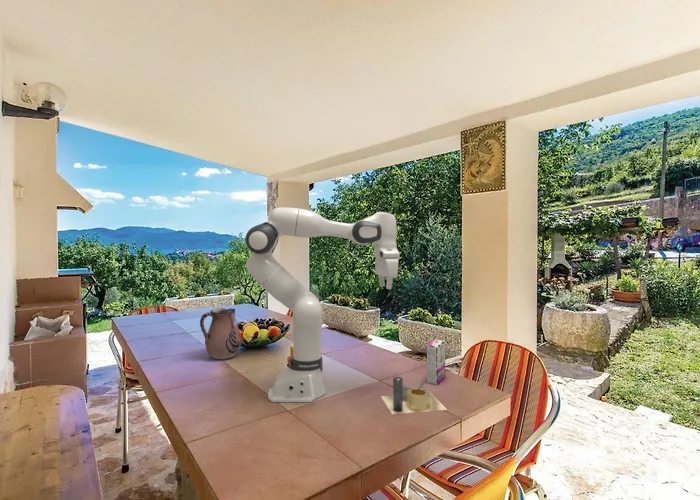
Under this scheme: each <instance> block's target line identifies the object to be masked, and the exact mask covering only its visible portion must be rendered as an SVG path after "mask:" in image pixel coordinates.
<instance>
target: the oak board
mask: <svg viewBox="0 0 700 500" xmlns="http://www.w3.org/2000/svg"><path fill="white" fill-rule="evenodd" d="M429 393H430V408H429V409H428V410H426V411H415V410H412V409H409V408H408V406H407V402H405V401H403V410H402V411H401V412H396V411H394V410H393V394H392V395H381V396H380V398H381V399H382V400H383V403H384V404H385V405H386V407H387V409H388V410H389V412H390V414H391V415H401V414H412V413H414V414H416V413H423V412H424V413H425V412H426V413H427V412H439V411H448V408H446V407H445V405H444V404H443V403H441V402H440V400H439V399H438V398H436V396H434V394H433V393H431V392H429Z"/></svg>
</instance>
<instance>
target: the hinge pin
mask: <svg viewBox="0 0 700 500" xmlns="http://www.w3.org/2000/svg"><path fill="white" fill-rule="evenodd" d="M403 382H404V380H403V377H401V376H394V377H393V378H392V389H393V390H392V391H393V392H392V393H393V394H392V395H393V410H394V411H396V412H401V411H402V410H403V386H404V384H403Z"/></svg>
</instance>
